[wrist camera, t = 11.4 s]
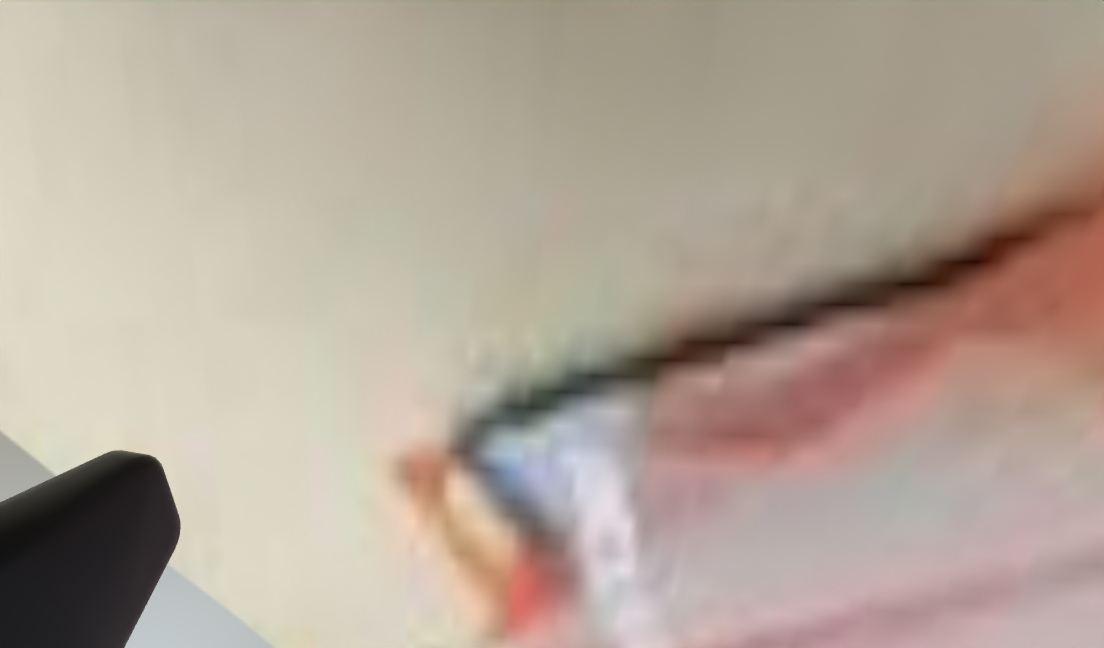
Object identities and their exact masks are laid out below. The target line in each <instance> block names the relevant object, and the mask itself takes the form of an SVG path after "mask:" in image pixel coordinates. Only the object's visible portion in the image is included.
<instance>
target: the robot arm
mask: <svg viewBox="0 0 1104 648" xmlns="http://www.w3.org/2000/svg"><path fill="white" fill-rule="evenodd" d="M179 535H180V518H179V514H178V511H177V508H176V505H175V502H174V499H173V496H172V493H171V490H170V487H169V484H168V481H167V478H166V475H165V472H164V469H163V467H162V465H161V463H160V462H159V461H158V460H157V459H156V458H155V457H152V456H150V455H146V454H140V453H134V452H128V451H122V450H120V451H111V452H108V453H105V454H103V455H101V456H99V457H97V458H95V459H93V460H90V461H88V462H86V463H84V464H82V465H80V466H78V467H75V468H73V469H71V470H69V471H67V472H65V473H62V474H60V475H58V476H56V477H54V478H52V479H50V480H47V481H45V482H43V483H41V484H39V485H37V486H35V487H32V488H30V489H28V490H26V491H24V492H22V493H20V494H18V495H15V496H13V497H11V498H9V499H7V500H5V501H2V502H0V648H124V647H125V645H126V643H127V641H128V639H129V637H130V635H131V633H132V631H133V629H134V627H135V625H136V624H137V622H138V619H139V618H140V616H141V614H142V612H143V610H144V608H145V606H146V604H147V602H148V600H149V598H150V596H151V594H152V592H153V591H154V589H155V586H156V585H157V583H158V581H159V579H160V577H161V575H162V573H163V571H164V569H165V567H166V565H167V563H168V561H169V559H170V557H171V556H172V554H173V552H174V550H175V548H176V545H177V542H178V539H179Z"/></svg>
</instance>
